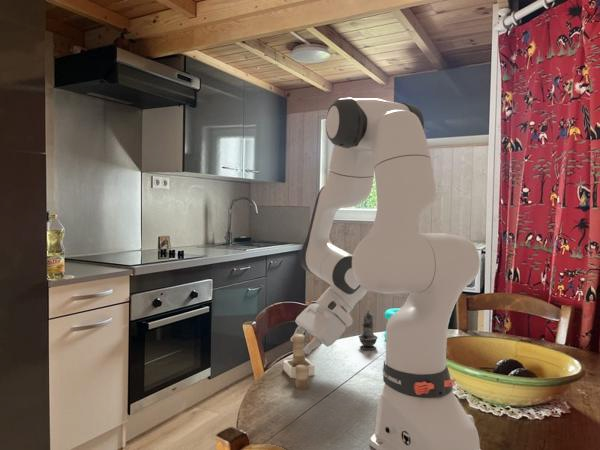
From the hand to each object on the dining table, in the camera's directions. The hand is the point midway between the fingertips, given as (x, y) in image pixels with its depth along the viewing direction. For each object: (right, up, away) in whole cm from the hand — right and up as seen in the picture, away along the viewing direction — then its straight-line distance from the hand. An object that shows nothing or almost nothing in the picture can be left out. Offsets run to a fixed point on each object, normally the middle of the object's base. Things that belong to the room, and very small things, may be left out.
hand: (298, 346), depth 119 cm
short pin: (+1, -7, -10) cm, 12 cm away
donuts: (+34, -6, +30) cm, 45 cm away
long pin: (0, -7, 0) cm, 7 cm away
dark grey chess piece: (+22, -6, +21) cm, 31 cm away
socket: (0, -7, 0) cm, 7 cm away
